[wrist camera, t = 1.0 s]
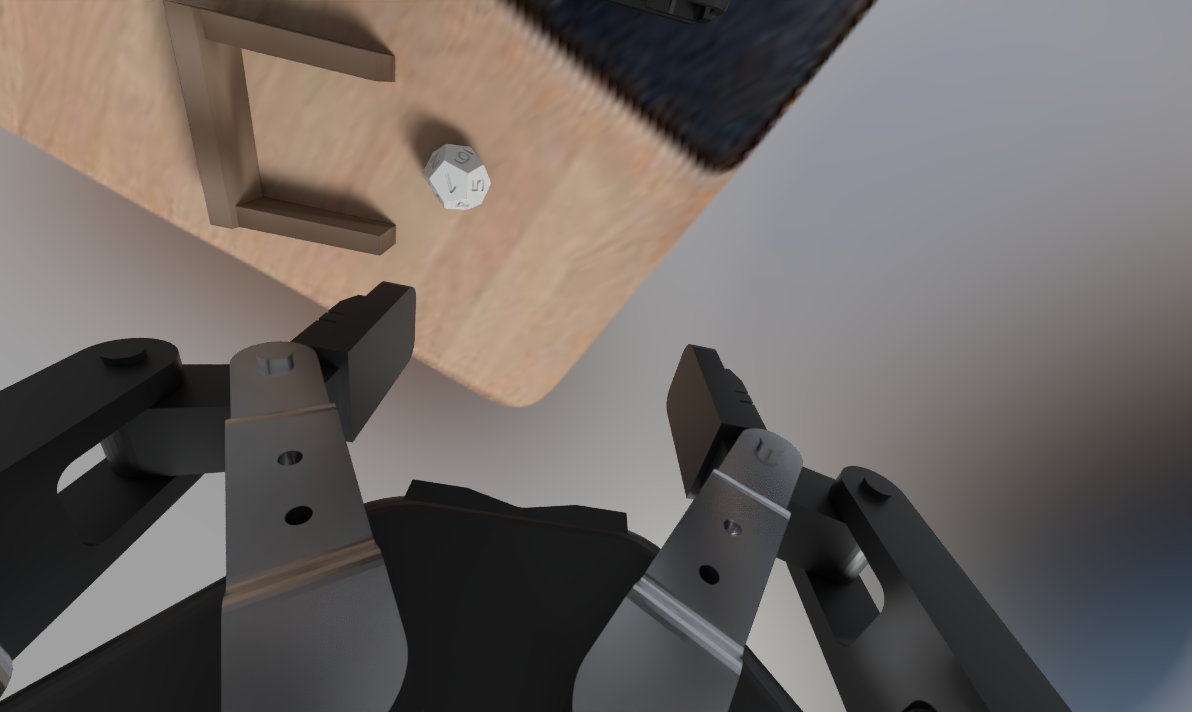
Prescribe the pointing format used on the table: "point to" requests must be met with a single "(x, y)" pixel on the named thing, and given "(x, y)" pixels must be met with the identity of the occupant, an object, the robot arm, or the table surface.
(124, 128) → the table surface
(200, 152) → the dice corral
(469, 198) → the game die
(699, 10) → the end cap
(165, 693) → the robot arm
